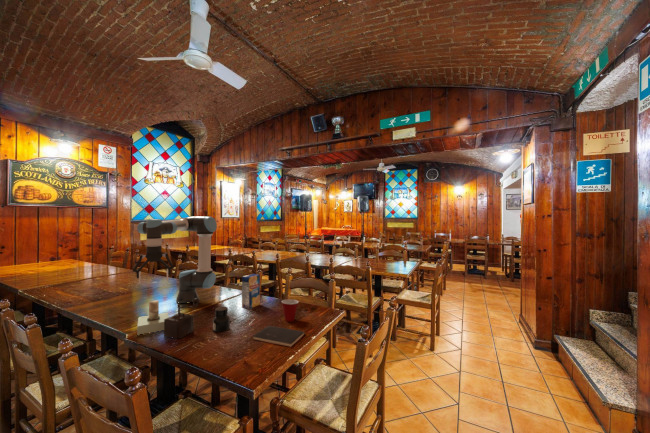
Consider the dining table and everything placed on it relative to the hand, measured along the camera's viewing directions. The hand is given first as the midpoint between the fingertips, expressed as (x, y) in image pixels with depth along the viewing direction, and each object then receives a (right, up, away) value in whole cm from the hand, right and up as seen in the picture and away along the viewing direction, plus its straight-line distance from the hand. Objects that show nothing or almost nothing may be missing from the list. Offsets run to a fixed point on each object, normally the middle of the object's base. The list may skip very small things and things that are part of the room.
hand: (153, 282), depth 159 cm
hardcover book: (+75, -28, -11) cm, 80 cm away
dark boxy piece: (+20, -27, -6) cm, 34 cm away
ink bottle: (+40, -27, -2) cm, 48 cm away
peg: (0, -26, 0) cm, 26 cm away
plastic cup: (+78, -27, +13) cm, 83 cm away
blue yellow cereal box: (+46, -27, +39) cm, 66 cm away
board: (0, -26, 0) cm, 26 cm away
